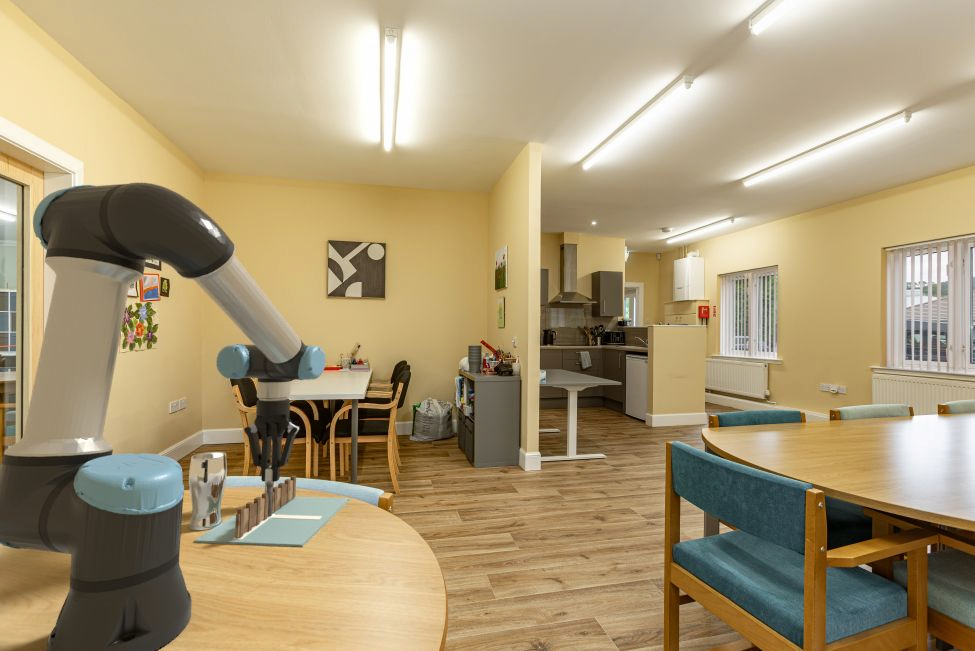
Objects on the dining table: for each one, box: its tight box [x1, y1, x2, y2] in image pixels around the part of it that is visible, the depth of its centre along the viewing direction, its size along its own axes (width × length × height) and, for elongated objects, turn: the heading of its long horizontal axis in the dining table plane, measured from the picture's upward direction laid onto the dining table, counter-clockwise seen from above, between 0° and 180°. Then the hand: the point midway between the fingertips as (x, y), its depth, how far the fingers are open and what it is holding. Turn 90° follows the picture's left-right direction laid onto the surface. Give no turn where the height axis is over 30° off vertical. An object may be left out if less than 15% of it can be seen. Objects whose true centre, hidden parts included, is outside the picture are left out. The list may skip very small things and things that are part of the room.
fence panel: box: [272, 475, 297, 513], centre depth 107 cm, size 11×1×5 cm, turn 177°
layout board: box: [193, 496, 350, 548], centre depth 100 cm, size 26×22×1 cm
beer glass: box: [188, 451, 228, 532], centre depth 96 cm, size 7×7×15 cm
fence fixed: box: [235, 481, 274, 538], centre depth 95 cm, size 13×2×8 cm, turn 177°
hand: (269, 494), depth 109 cm, fingers closed
